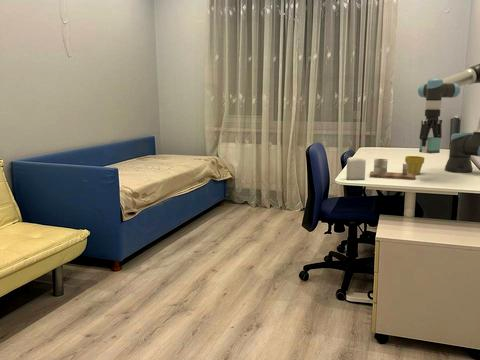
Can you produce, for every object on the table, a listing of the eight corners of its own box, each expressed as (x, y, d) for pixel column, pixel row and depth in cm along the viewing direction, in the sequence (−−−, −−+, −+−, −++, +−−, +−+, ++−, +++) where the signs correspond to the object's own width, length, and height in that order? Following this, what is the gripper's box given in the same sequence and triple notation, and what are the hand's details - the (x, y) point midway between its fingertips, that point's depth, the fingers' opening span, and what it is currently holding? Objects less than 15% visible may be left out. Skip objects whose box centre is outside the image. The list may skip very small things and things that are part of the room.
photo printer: (347, 180, 237) (348, 157, 235) (345, 178, 241) (346, 156, 239) (366, 179, 238) (367, 157, 236) (363, 178, 242) (364, 156, 240)
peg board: (414, 176, 249) (415, 159, 247) (415, 179, 237) (416, 162, 236) (370, 173, 256) (371, 157, 254) (369, 177, 245) (370, 160, 243)
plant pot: (424, 172, 260) (425, 156, 258) (421, 175, 251) (422, 158, 249) (406, 171, 265) (407, 155, 263) (402, 173, 256) (403, 157, 255)
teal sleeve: (428, 151, 241) (429, 136, 239) (439, 152, 234) (440, 137, 233) (419, 152, 237) (420, 137, 236) (430, 153, 231) (431, 138, 230)
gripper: (439, 108, 239) (435, 150, 244) (413, 109, 230) (410, 152, 234) (451, 108, 233) (447, 151, 237) (425, 109, 224) (422, 153, 228)
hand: (429, 152), depth 236 cm, fingers closed on teal sleeve, 7 cm apart
